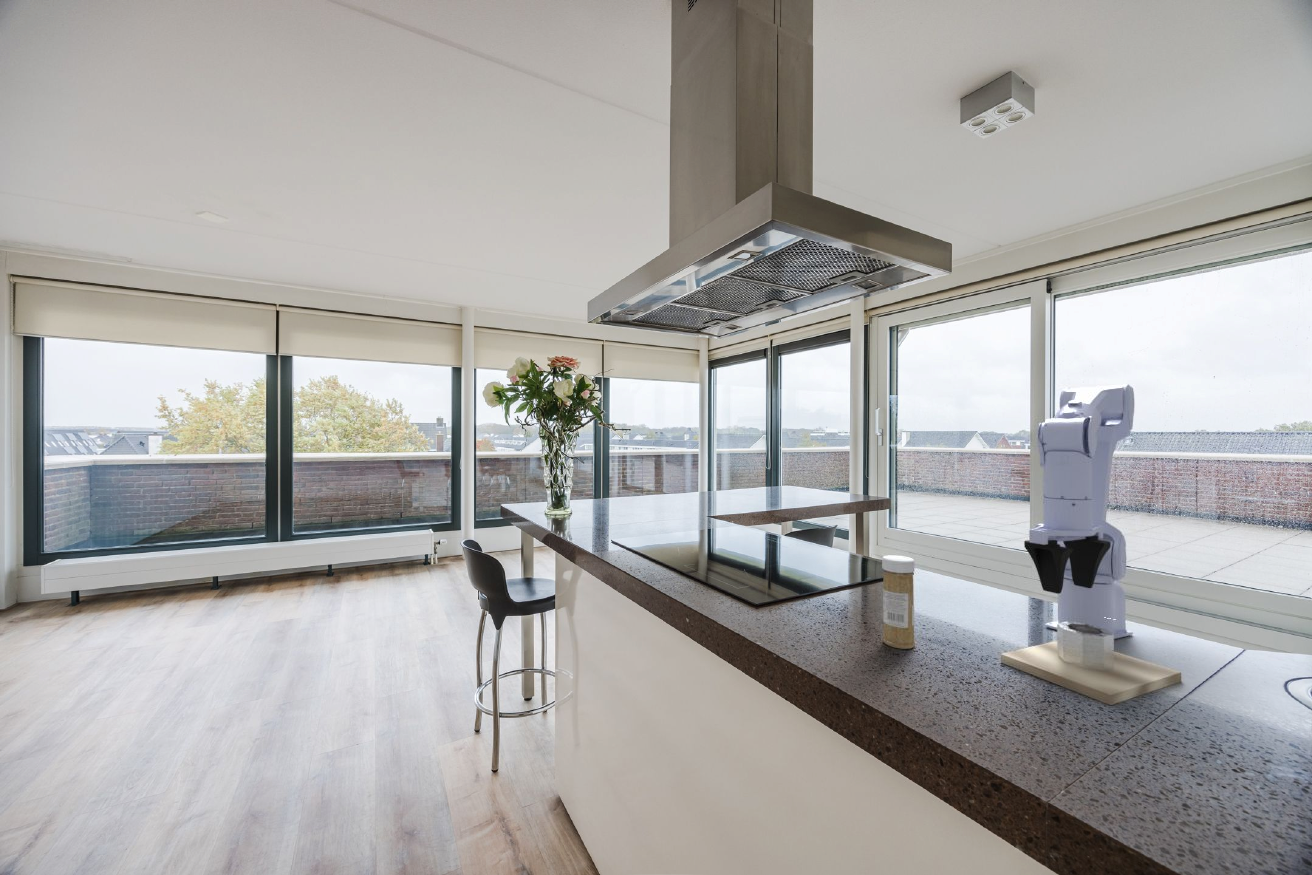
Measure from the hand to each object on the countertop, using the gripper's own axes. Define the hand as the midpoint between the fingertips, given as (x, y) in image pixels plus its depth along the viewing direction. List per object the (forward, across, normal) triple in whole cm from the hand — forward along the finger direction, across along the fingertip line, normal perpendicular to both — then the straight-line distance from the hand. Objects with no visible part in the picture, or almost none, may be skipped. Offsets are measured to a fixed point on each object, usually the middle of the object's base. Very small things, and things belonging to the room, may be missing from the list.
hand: (1067, 589), depth 77 cm
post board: (+9, +5, +5) cm, 12 cm away
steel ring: (+8, +5, +5) cm, 11 cm away
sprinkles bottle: (+10, +21, -12) cm, 26 cm away
